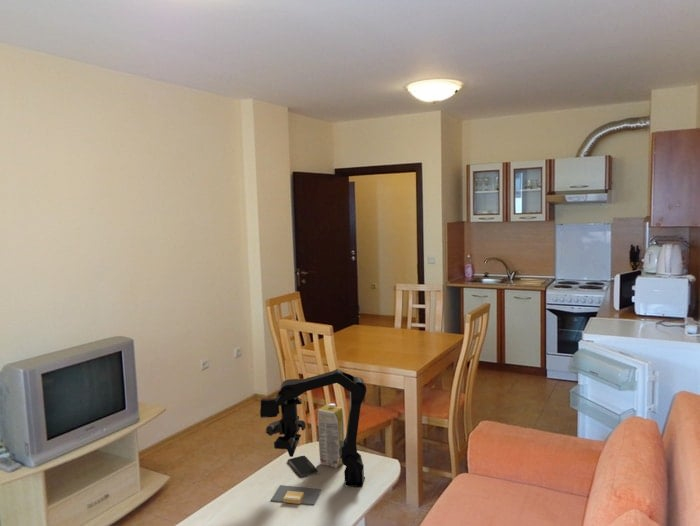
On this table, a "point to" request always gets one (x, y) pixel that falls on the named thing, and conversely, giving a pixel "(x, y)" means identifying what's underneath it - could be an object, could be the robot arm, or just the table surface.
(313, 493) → the charcoal mat
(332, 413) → the juice carton
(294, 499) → the ochre block
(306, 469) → the phone
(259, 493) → the table surface
